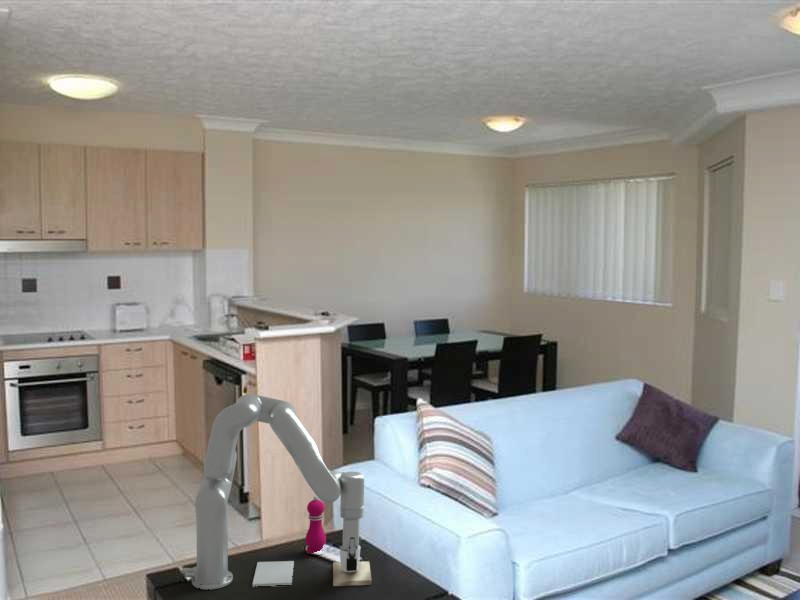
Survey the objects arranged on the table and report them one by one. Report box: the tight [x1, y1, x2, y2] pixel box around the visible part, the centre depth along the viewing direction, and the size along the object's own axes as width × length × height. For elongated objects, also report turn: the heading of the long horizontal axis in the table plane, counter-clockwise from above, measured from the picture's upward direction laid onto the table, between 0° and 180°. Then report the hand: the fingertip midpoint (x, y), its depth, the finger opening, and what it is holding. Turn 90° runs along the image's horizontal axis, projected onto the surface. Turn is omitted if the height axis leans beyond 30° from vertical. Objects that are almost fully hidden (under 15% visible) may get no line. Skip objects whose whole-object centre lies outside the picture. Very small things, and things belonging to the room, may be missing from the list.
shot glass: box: [339, 544, 362, 572], centre depth 233 cm, size 7×7×7 cm
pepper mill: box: [304, 495, 327, 553], centre depth 251 cm, size 7×7×20 cm
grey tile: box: [251, 560, 295, 588], centre depth 233 cm, size 12×16×1 cm
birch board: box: [332, 560, 373, 587], centre depth 234 cm, size 12×14×2 cm
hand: (351, 565), depth 233 cm, fingers open, 6 cm apart
